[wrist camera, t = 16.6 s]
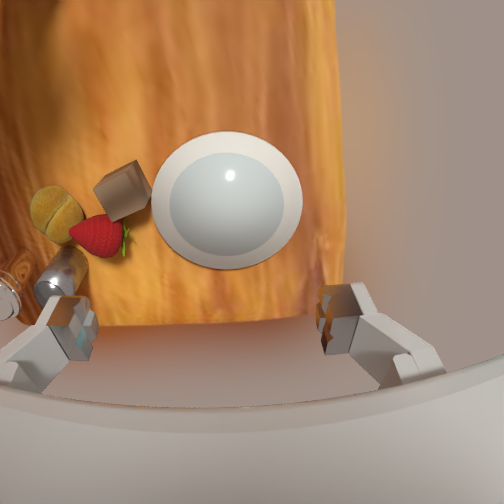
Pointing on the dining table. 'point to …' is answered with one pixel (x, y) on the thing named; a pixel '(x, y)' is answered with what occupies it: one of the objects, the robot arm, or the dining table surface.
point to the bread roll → (55, 213)
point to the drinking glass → (61, 275)
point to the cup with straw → (14, 281)
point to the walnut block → (123, 191)
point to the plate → (226, 200)
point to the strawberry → (100, 235)
